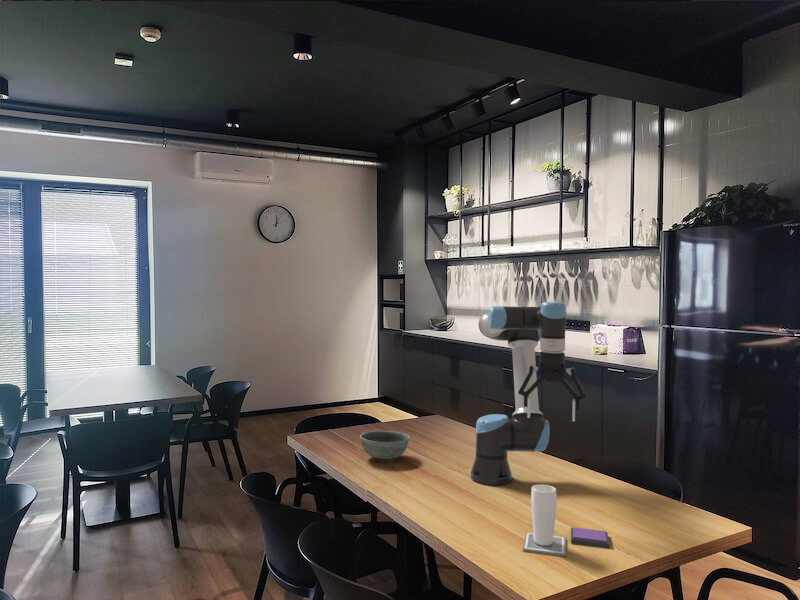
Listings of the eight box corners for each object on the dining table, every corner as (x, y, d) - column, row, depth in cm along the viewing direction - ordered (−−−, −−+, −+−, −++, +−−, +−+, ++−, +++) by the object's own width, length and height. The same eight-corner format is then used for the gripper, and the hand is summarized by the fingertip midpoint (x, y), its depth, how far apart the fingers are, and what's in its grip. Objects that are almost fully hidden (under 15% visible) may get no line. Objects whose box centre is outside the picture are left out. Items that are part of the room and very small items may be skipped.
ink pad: (571, 543, 159) (571, 537, 159) (570, 531, 166) (570, 526, 166) (609, 548, 156) (609, 542, 156) (607, 536, 164) (607, 530, 164)
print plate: (522, 551, 154) (523, 548, 154) (525, 534, 164) (525, 532, 164) (565, 556, 151) (565, 554, 151) (565, 539, 161) (565, 537, 161)
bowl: (350, 463, 230) (350, 438, 230) (372, 449, 249) (372, 427, 249) (398, 469, 222) (398, 444, 222) (417, 455, 241) (417, 432, 241)
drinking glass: (527, 537, 161) (528, 484, 161) (551, 537, 161) (552, 484, 161) (534, 548, 154) (535, 492, 154) (559, 547, 154) (560, 492, 154)
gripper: (510, 351, 179) (509, 418, 179) (595, 355, 171) (593, 425, 172) (513, 348, 186) (511, 412, 187) (594, 351, 179) (592, 419, 179)
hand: (550, 418), depth 179 cm, fingers open, 13 cm apart
